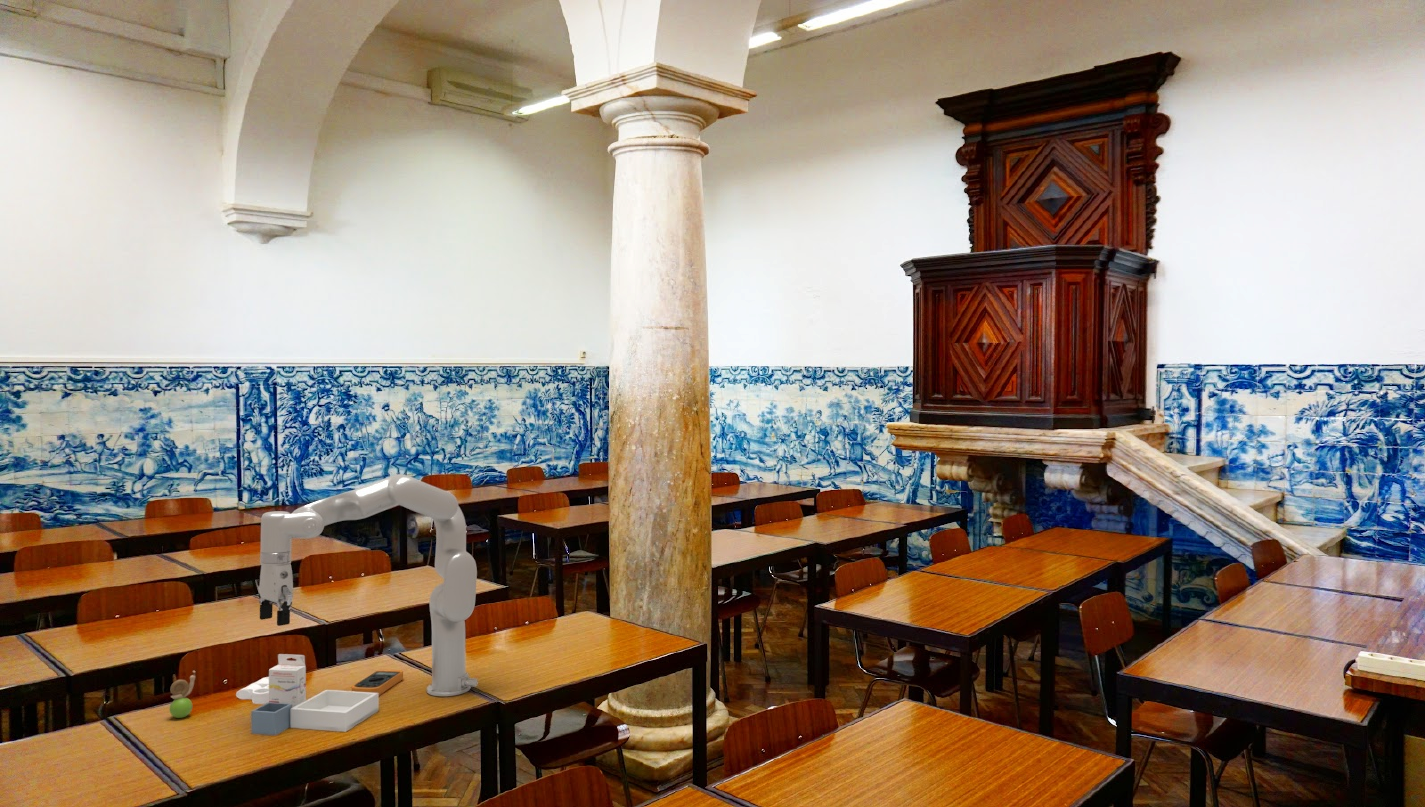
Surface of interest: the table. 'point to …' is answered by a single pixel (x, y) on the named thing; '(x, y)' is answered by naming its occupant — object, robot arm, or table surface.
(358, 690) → the multimeter
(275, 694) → the ink cartridge box
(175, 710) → the snail figurine
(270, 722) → the small crate
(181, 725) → the table surface
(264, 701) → the white brass knuckles
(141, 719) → the table surface
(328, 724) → the big crate
